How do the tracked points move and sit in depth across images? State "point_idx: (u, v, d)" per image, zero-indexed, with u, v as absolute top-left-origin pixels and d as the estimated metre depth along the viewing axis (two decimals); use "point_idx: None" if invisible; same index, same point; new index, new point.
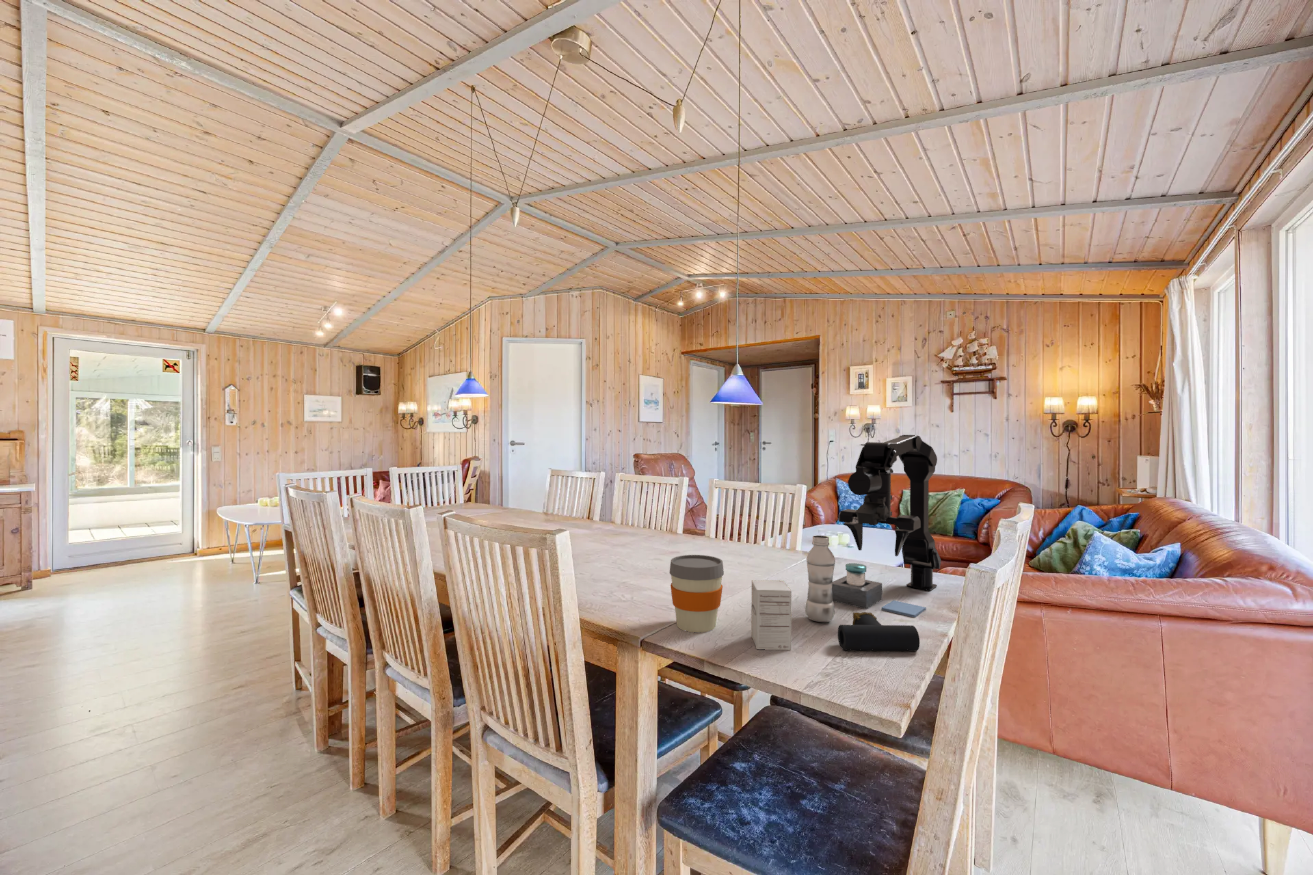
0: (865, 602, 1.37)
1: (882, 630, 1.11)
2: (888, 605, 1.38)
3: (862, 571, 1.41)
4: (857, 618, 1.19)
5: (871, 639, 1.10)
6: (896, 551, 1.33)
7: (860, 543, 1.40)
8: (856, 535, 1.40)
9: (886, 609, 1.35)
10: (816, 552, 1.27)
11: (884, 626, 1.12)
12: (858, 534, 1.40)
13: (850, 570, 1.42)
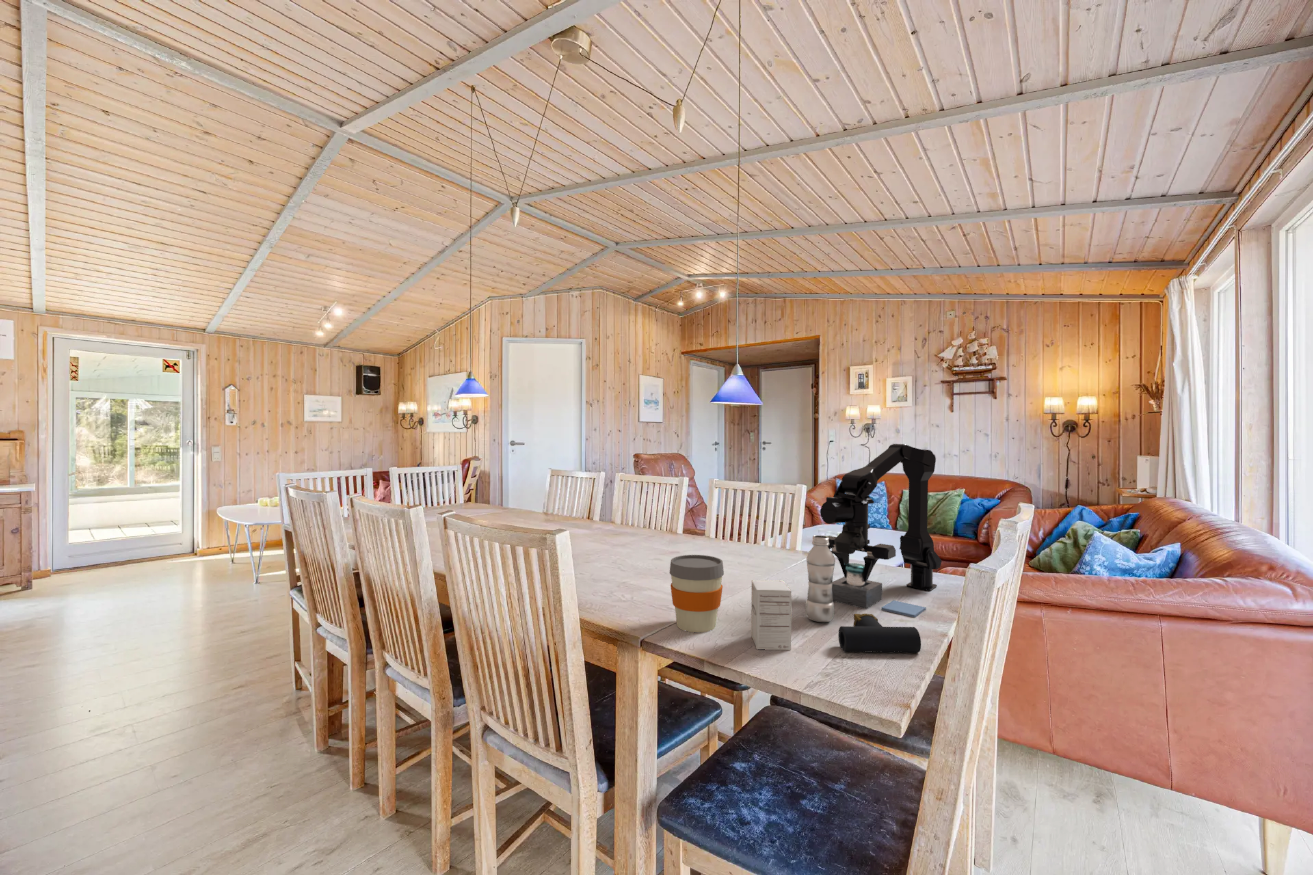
0: (865, 602, 1.37)
1: (883, 632, 1.10)
2: (888, 605, 1.38)
3: (862, 571, 1.41)
4: (858, 619, 1.18)
5: (872, 641, 1.09)
6: (865, 577, 1.41)
7: (846, 570, 1.46)
8: (842, 563, 1.45)
9: (886, 609, 1.35)
10: (816, 552, 1.27)
11: (885, 628, 1.11)
12: (844, 562, 1.45)
13: (850, 570, 1.42)
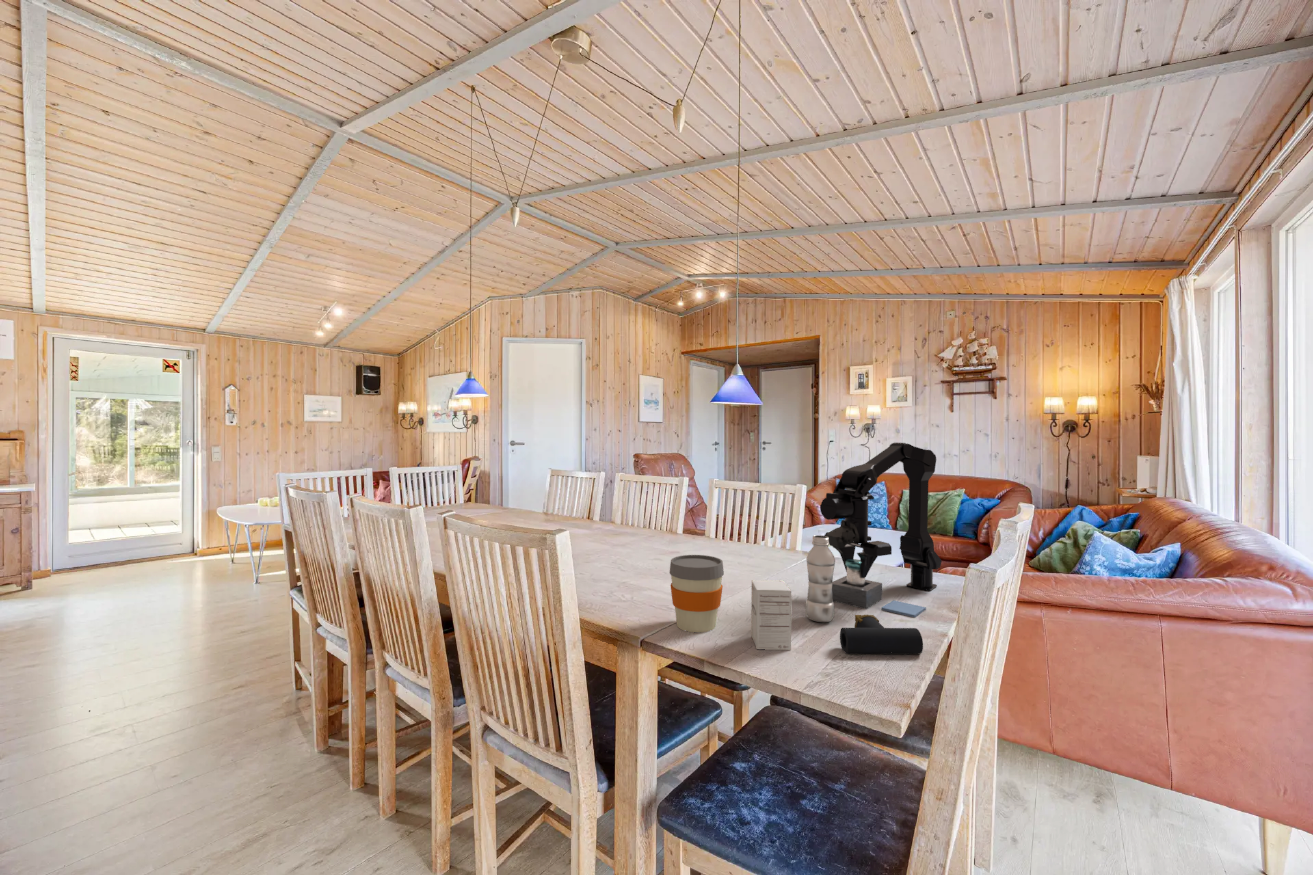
0: (865, 602, 1.37)
1: (885, 633, 1.10)
2: (888, 605, 1.38)
3: (859, 567, 1.41)
4: (859, 621, 1.17)
5: (874, 642, 1.09)
6: (861, 573, 1.41)
7: None
8: (844, 558, 1.46)
9: (886, 609, 1.35)
10: (816, 552, 1.27)
11: (887, 629, 1.11)
12: (846, 557, 1.46)
13: (847, 565, 1.43)
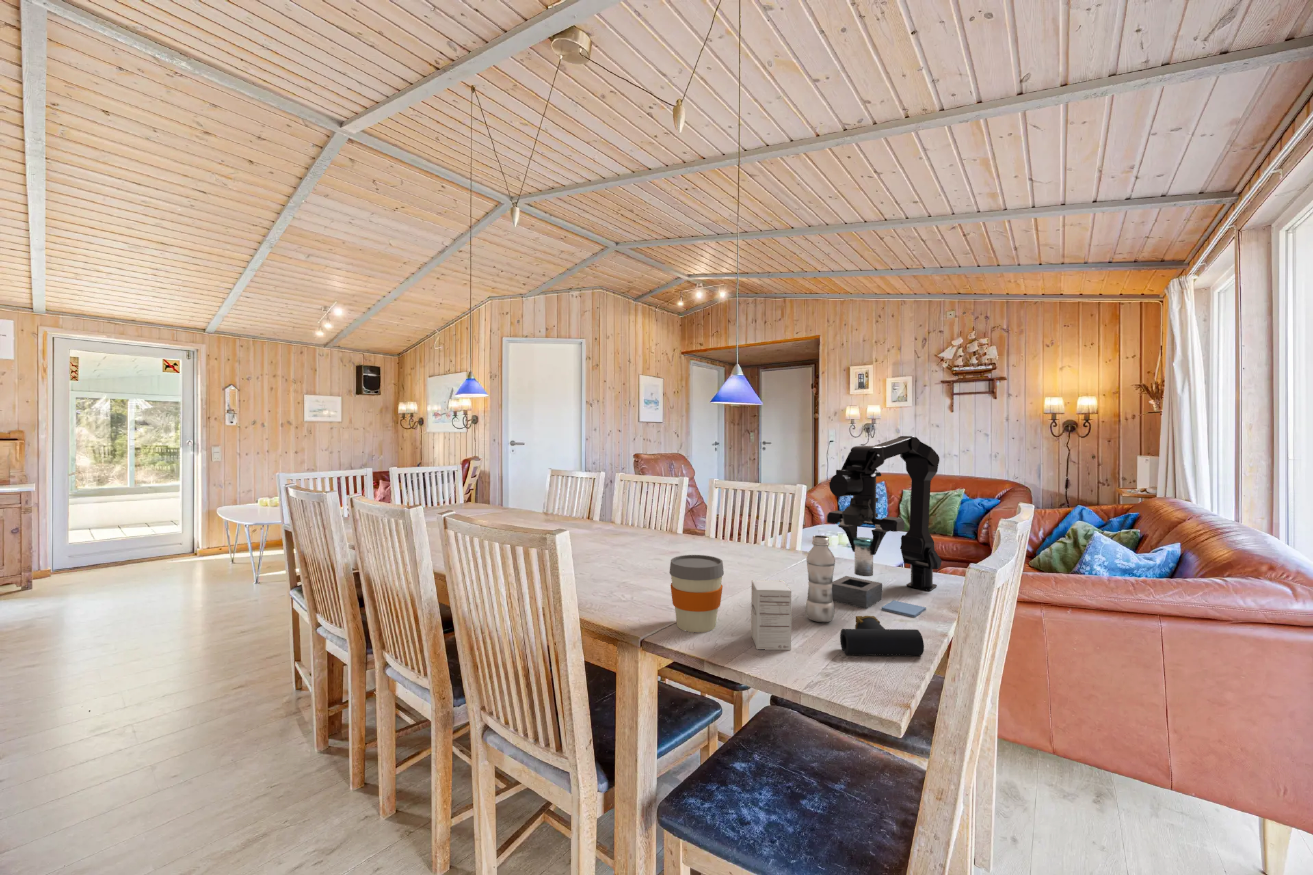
0: (865, 602, 1.37)
1: (885, 634, 1.09)
2: (888, 605, 1.38)
3: (870, 544, 1.40)
4: (860, 622, 1.16)
5: (874, 644, 1.08)
6: (873, 550, 1.40)
7: (854, 544, 1.44)
8: (850, 537, 1.44)
9: (886, 609, 1.35)
10: (816, 552, 1.27)
11: (887, 630, 1.10)
12: (852, 536, 1.44)
13: (858, 543, 1.41)
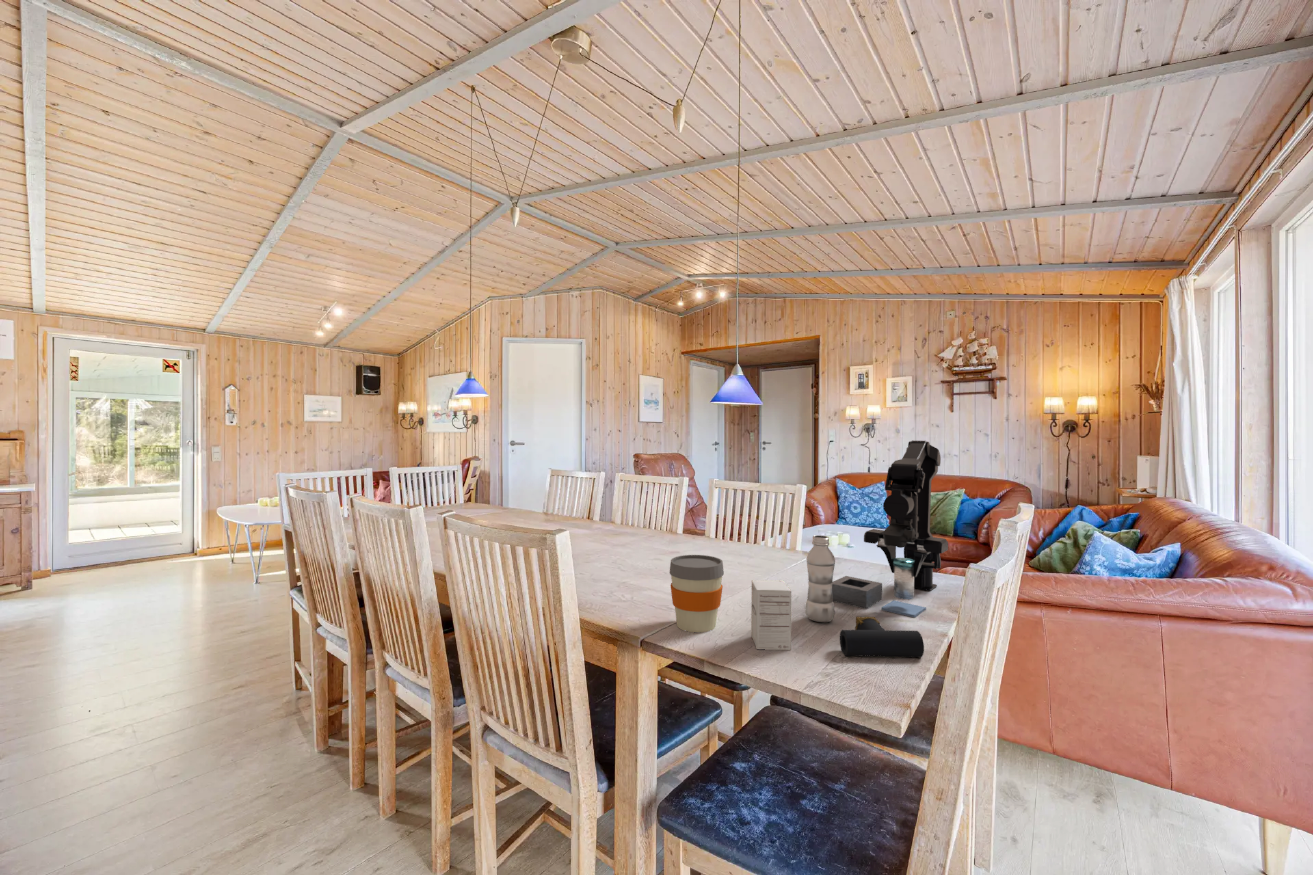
0: (865, 602, 1.37)
1: (885, 635, 1.08)
2: (888, 605, 1.38)
3: (912, 566, 1.34)
4: (860, 623, 1.16)
5: (874, 645, 1.07)
6: (915, 572, 1.34)
7: (893, 565, 1.38)
8: (889, 557, 1.38)
9: (886, 609, 1.35)
10: (816, 552, 1.27)
11: (887, 631, 1.09)
12: (891, 557, 1.38)
13: (899, 565, 1.35)
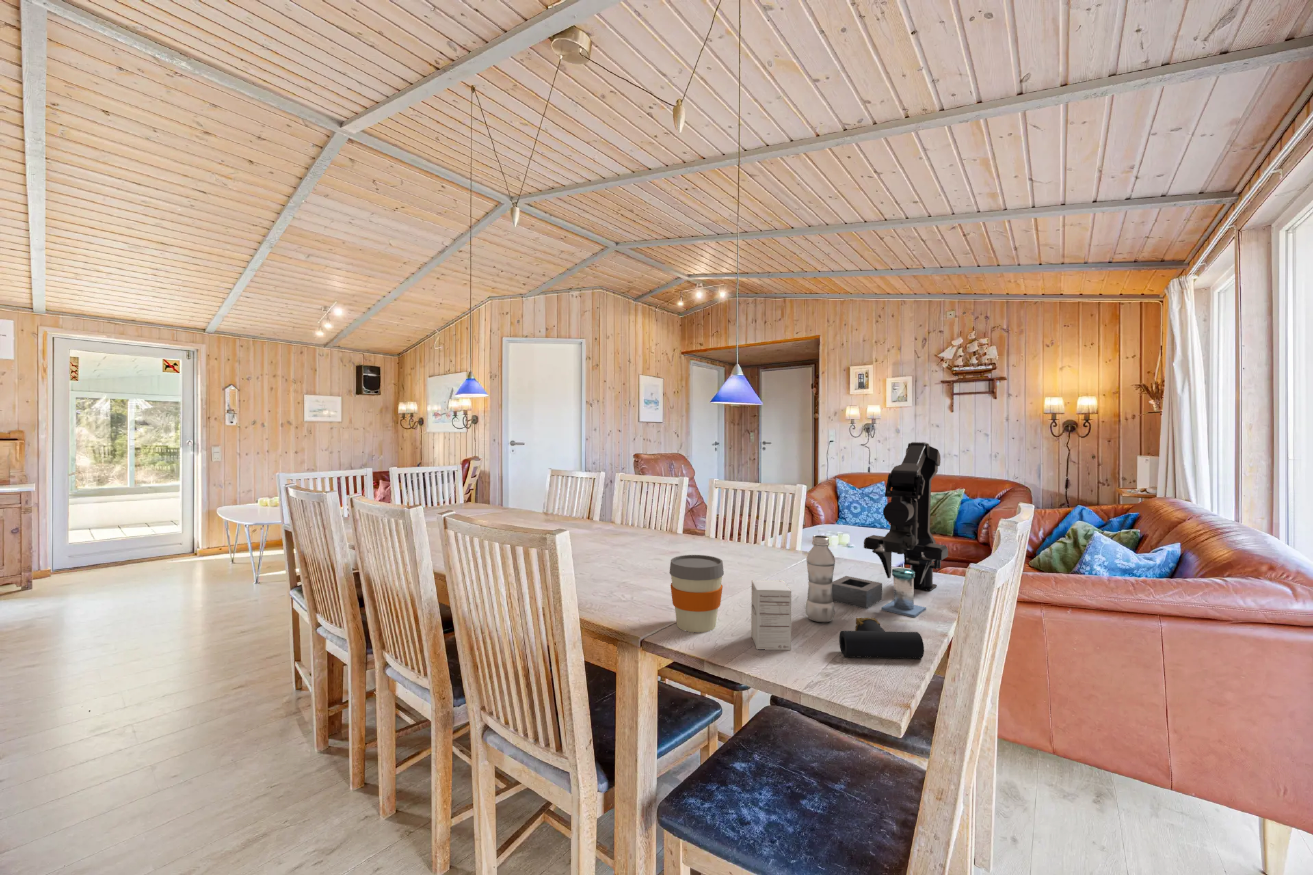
0: (865, 602, 1.37)
1: (885, 636, 1.08)
2: (888, 605, 1.38)
3: (911, 577, 1.34)
4: (860, 624, 1.15)
5: (873, 646, 1.07)
6: (919, 579, 1.33)
7: (889, 571, 1.39)
8: (885, 563, 1.38)
9: (886, 609, 1.35)
10: (816, 552, 1.27)
11: (887, 633, 1.09)
12: (887, 562, 1.38)
13: (898, 576, 1.35)
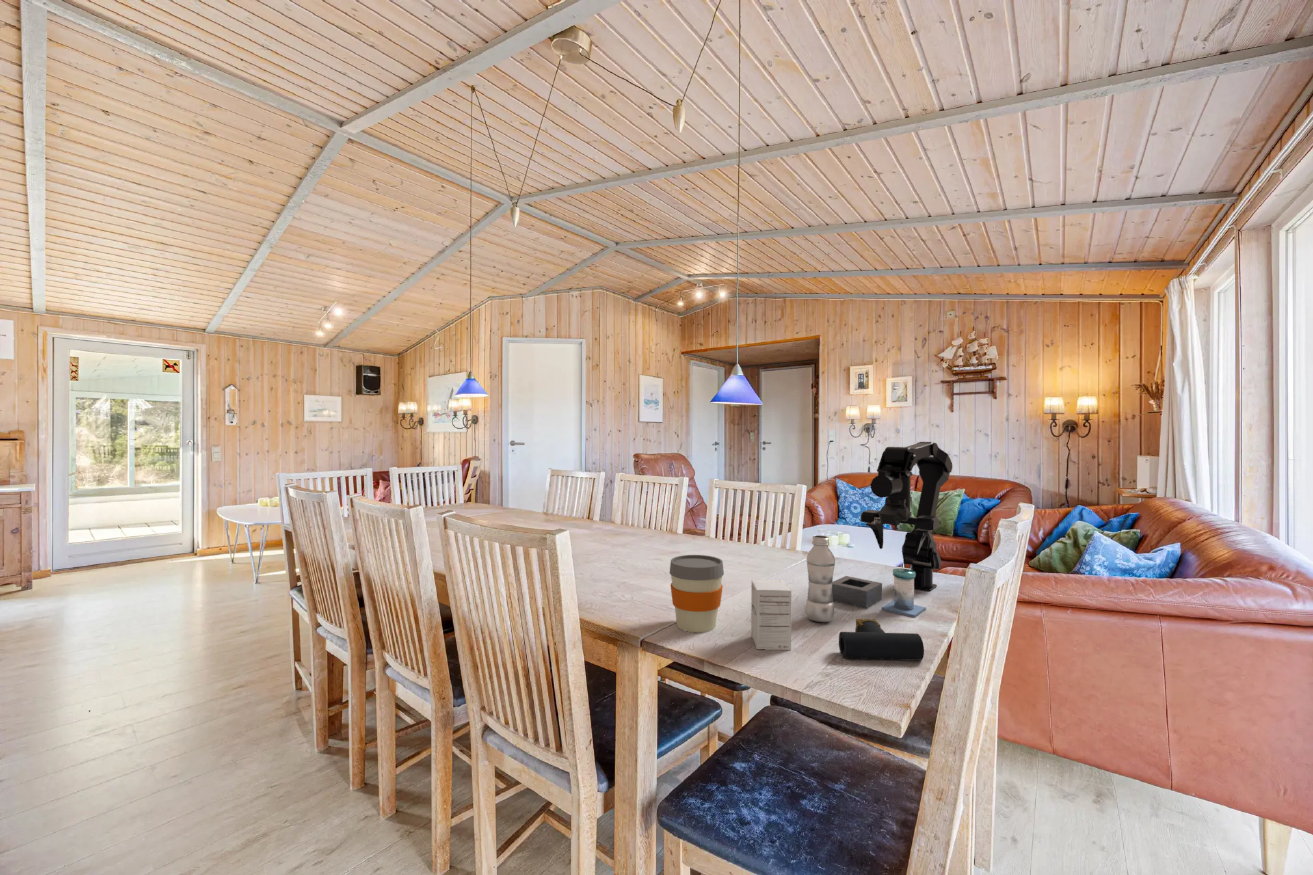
0: (865, 602, 1.37)
1: (884, 638, 1.07)
2: (888, 605, 1.38)
3: (911, 577, 1.34)
4: (860, 625, 1.15)
5: (873, 647, 1.06)
6: (916, 549, 1.42)
7: (881, 542, 1.48)
8: (877, 534, 1.48)
9: (886, 609, 1.35)
10: (816, 552, 1.27)
11: (886, 634, 1.08)
12: (879, 534, 1.48)
13: (898, 576, 1.35)
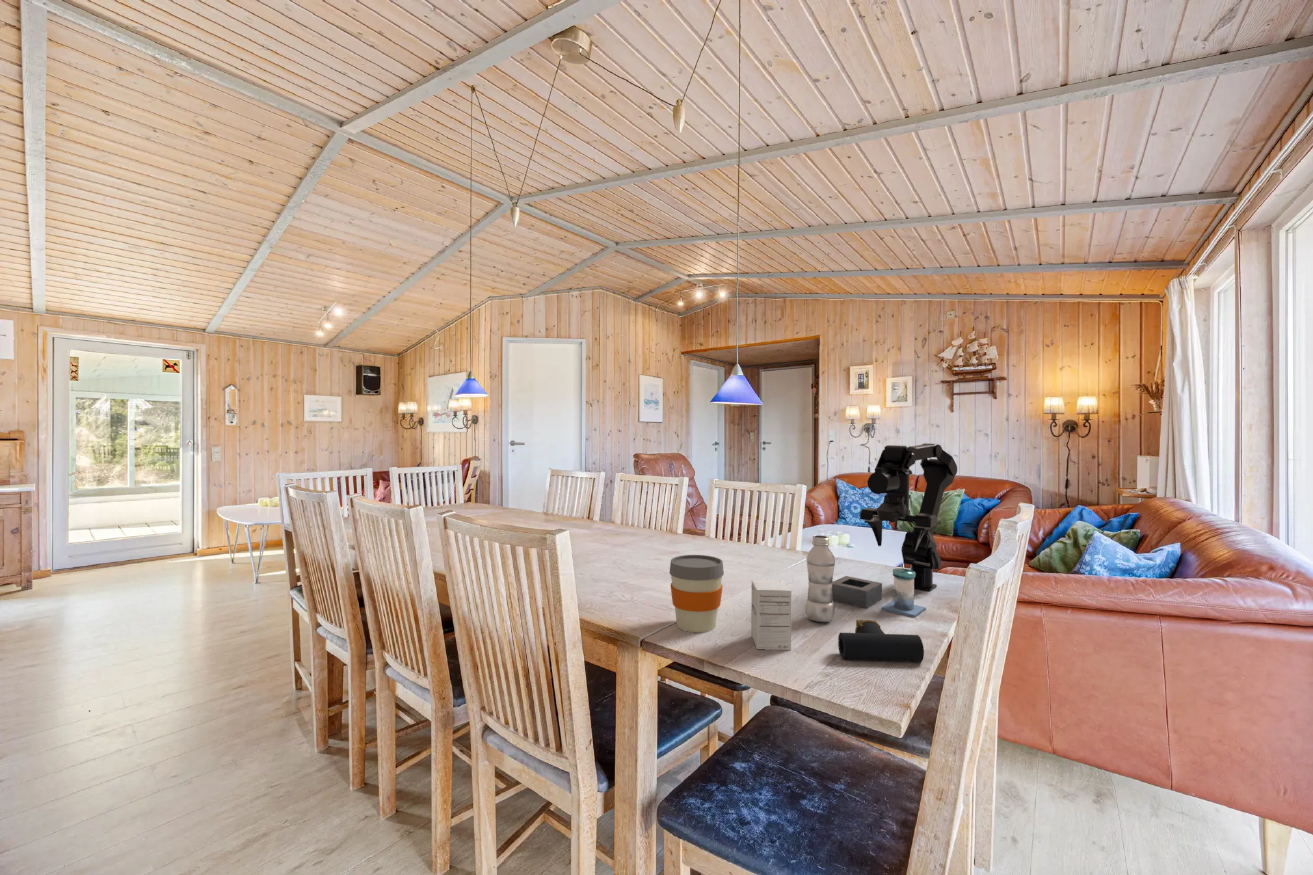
0: (865, 602, 1.37)
1: (884, 639, 1.06)
2: (888, 605, 1.38)
3: (911, 577, 1.34)
4: (860, 626, 1.14)
5: (872, 648, 1.06)
6: (914, 547, 1.43)
7: (880, 539, 1.50)
8: (876, 532, 1.50)
9: (886, 609, 1.35)
10: (816, 552, 1.27)
11: (886, 635, 1.07)
12: (878, 531, 1.50)
13: (898, 576, 1.35)
